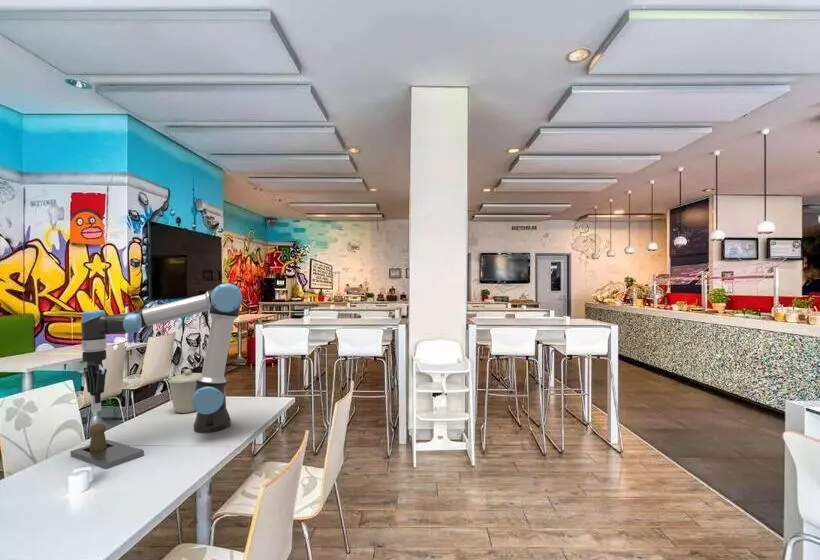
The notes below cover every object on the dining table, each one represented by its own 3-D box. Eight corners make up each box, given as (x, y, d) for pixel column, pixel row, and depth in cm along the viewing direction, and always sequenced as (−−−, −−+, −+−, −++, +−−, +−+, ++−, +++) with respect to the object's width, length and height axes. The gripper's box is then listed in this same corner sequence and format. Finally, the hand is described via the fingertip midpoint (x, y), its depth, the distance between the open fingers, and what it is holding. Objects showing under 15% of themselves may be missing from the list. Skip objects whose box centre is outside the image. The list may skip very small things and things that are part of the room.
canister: (189, 416, 212) (188, 373, 212) (160, 414, 217) (158, 372, 217) (216, 406, 229) (214, 366, 230) (188, 404, 235) (187, 365, 235)
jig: (144, 455, 164) (143, 450, 164) (106, 469, 153) (105, 463, 153) (108, 444, 178) (107, 439, 178) (70, 456, 166) (70, 451, 166)
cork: (98, 456, 165) (96, 427, 165) (84, 455, 166) (83, 427, 166) (111, 450, 171) (110, 422, 171) (99, 449, 172) (97, 421, 172)
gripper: (75, 351, 169) (77, 411, 169) (91, 352, 162) (93, 416, 162) (96, 348, 175) (98, 406, 175) (113, 349, 169) (115, 410, 169)
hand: (96, 411), depth 169 cm, fingers closed
